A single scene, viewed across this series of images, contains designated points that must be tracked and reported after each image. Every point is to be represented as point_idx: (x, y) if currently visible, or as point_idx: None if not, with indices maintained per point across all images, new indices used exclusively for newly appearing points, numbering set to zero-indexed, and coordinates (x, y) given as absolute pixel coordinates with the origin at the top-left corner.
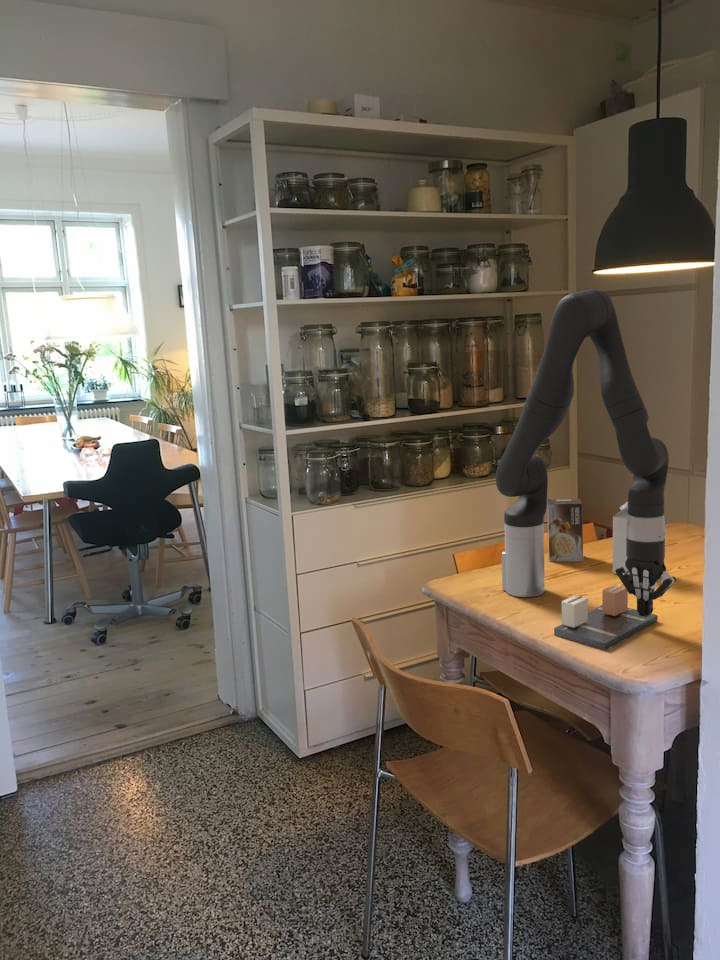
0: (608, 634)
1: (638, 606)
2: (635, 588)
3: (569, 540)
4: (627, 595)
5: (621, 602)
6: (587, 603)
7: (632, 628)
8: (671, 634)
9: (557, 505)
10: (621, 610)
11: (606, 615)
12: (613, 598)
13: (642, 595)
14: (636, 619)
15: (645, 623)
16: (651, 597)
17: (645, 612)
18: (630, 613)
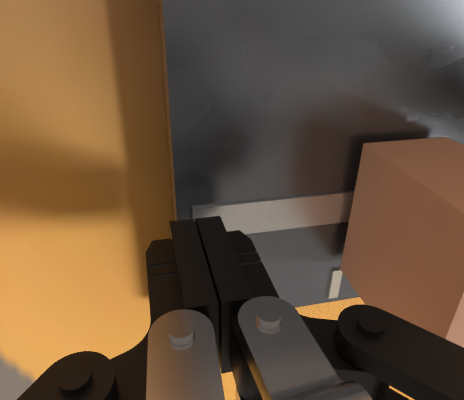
0: None
1: (246, 259)
2: (336, 379)
3: None
4: None
5: (387, 253)
6: None
7: (168, 47)
8: (7, 224)
9: None
10: (356, 220)
11: (412, 135)
12: (461, 201)
13: (239, 349)
14: (236, 203)
15: (175, 208)
16: (107, 362)
17: (171, 240)
18: (309, 250)
